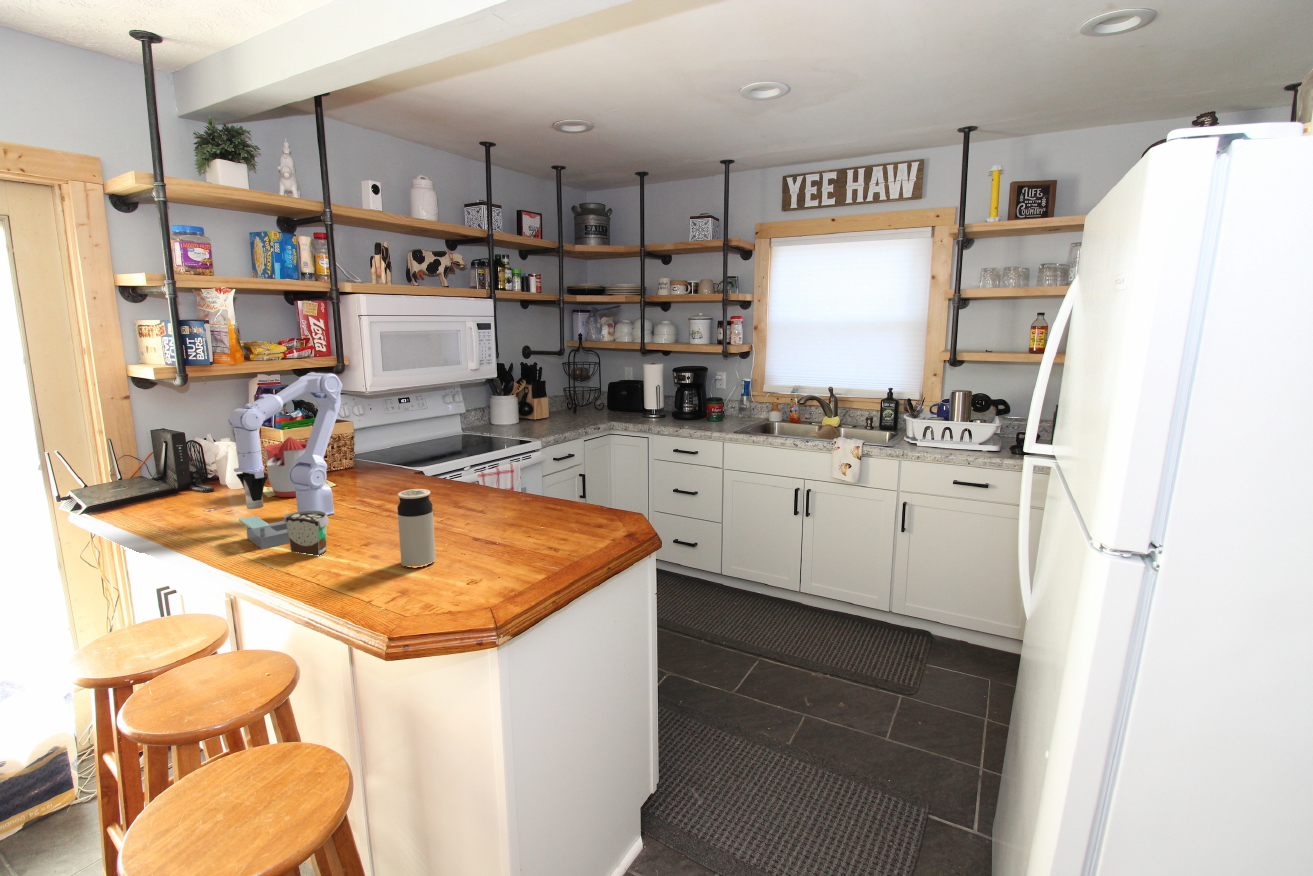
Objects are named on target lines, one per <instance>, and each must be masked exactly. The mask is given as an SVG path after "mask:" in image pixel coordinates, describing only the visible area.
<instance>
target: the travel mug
mask: <svg viewBox="0 0 1313 876" xmlns="http://www.w3.org/2000/svg"><path fill="white" fill-rule="evenodd" d="M430 494H431V491H430V490H429V489H425V488H414V489H406V490H403V491H400V492H398V493H397V497H398V499H399V503H398V505H397V523H398V533H399V534H398V535H399V546H400V547H399V549H400V563H401V566H402V565H404V566H411V567H412V566H421V565H425V564H428V563H431V562H433V561H434V560H435V559H436V558H437V557H436V545H435V527H434V526H435V525H434V513H433V510H434V509H433V503H432V501H431V500H430V496H431V495H430ZM404 566H403V567H404Z"/></svg>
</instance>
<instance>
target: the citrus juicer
mask: <svg viewBox="0 0 1313 876" xmlns="http://www.w3.org/2000/svg"><path fill="white" fill-rule="evenodd" d="M307 443H308V441H298V440H296V439H295V438H293V437H292V436H288V437H287V438H286V439H285V440H284V441H283V442H281V443H273V444H268V445H266V446H265V447H264V448H263V450H264V452H265V461H266V462H265V463H266V471H267V476H268V478H267V479H268V481H269V484H270V486H271V488H272V491H273V493H274V494H275V496H276V497H280V498H296V490H295V487H294V484H293V483H292V482H291V481H290V479H289V471H290V469H291V468H292V467H293V466H294V464H295V462H296V460H297V459H298V458H299V457H300V456H302V455H303V454H304V452H305V449H306V446H307Z"/></svg>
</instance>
